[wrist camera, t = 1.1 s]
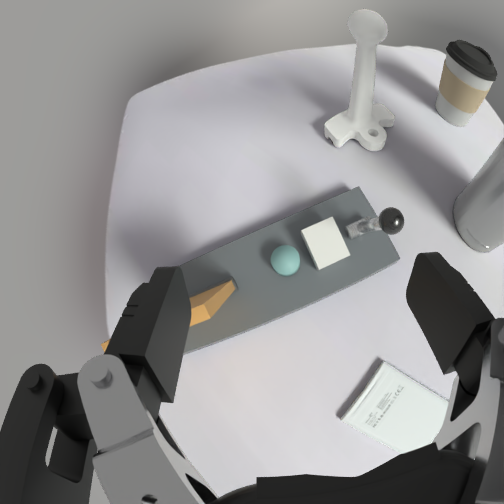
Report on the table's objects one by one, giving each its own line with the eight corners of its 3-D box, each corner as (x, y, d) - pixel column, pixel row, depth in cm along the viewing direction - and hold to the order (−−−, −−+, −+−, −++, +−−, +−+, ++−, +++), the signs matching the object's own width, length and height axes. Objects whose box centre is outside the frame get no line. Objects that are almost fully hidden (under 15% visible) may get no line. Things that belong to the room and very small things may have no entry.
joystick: (376, 108, 36) (389, 2, 18) (405, 140, 34) (438, 30, 15) (319, 129, 37) (312, 9, 18) (348, 165, 34) (361, 36, 16)
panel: (356, 194, 33) (358, 186, 31) (395, 263, 29) (400, 258, 27) (158, 282, 35) (151, 279, 33) (181, 355, 31) (173, 356, 29)
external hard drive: (412, 456, 22) (339, 417, 26) (450, 403, 23) (381, 359, 27) (416, 461, 20) (340, 421, 24) (456, 405, 21) (385, 361, 25)
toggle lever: (364, 214, 29) (405, 199, 19) (372, 232, 29) (416, 225, 19) (342, 224, 29) (376, 213, 19) (349, 242, 29) (387, 240, 19)
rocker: (329, 220, 29) (332, 216, 28) (346, 256, 29) (350, 255, 27) (300, 233, 30) (301, 230, 28) (317, 270, 29) (319, 269, 27)
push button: (293, 245, 30) (292, 240, 29) (304, 269, 29) (304, 265, 28) (268, 256, 30) (266, 252, 29) (278, 280, 29) (277, 277, 28)
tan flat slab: (233, 275, 30) (203, 298, 17) (239, 289, 30) (214, 322, 17) (163, 305, 31) (98, 340, 17) (168, 317, 31) (107, 360, 17)
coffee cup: (453, 136, 32) (484, 70, 18) (420, 99, 35) (438, 33, 21) (479, 126, 32) (509, 69, 18) (449, 93, 35) (468, 35, 21)
